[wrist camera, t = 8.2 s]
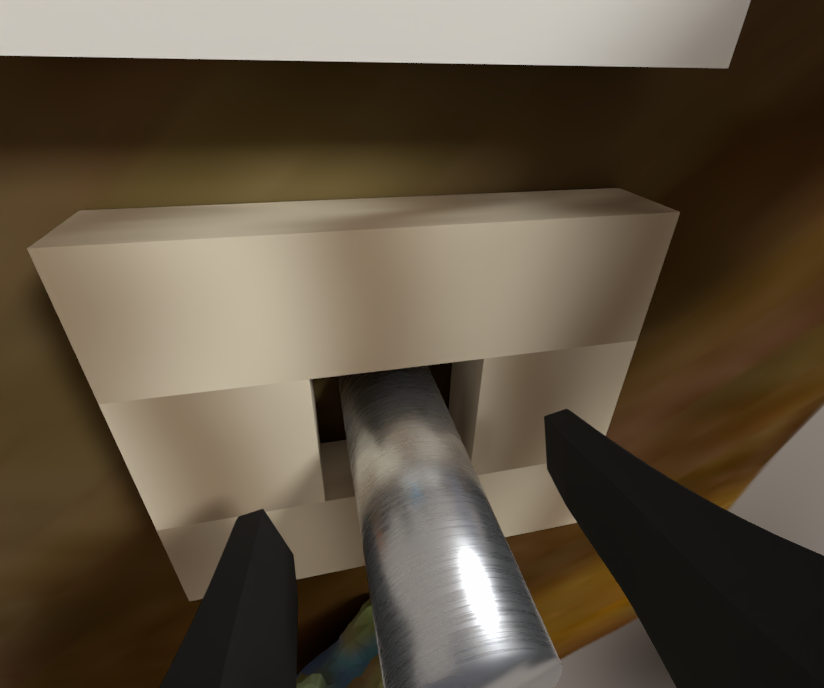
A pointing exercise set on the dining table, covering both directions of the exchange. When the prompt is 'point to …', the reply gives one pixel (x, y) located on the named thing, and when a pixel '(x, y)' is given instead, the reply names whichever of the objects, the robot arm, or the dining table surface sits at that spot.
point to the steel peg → (435, 546)
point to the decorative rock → (347, 658)
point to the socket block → (382, 30)
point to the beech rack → (345, 344)
